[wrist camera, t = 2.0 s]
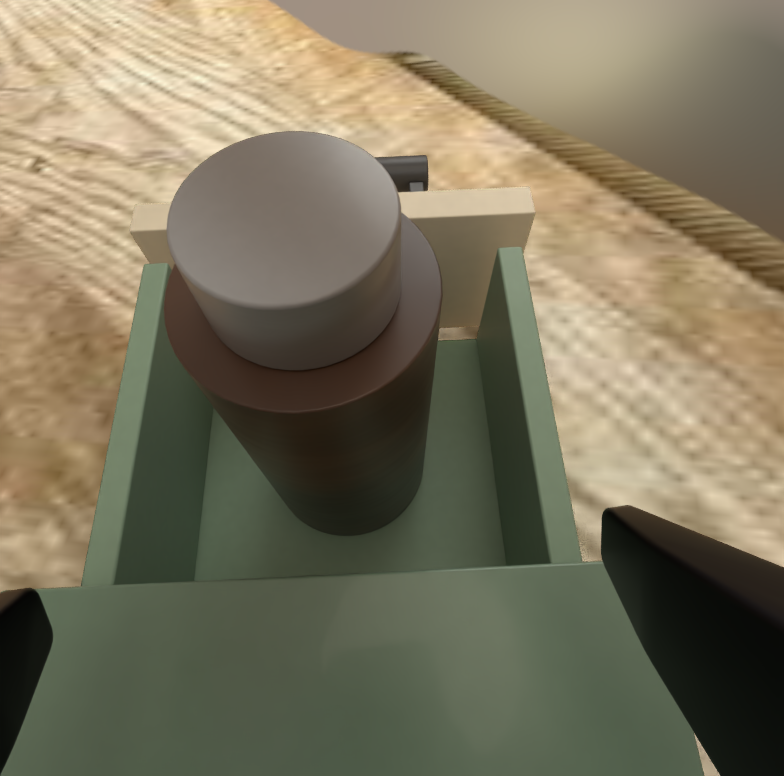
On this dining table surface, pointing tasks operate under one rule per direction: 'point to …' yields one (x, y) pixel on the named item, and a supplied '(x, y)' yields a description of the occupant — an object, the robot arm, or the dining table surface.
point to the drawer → (443, 445)
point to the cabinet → (353, 679)
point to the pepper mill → (309, 321)
